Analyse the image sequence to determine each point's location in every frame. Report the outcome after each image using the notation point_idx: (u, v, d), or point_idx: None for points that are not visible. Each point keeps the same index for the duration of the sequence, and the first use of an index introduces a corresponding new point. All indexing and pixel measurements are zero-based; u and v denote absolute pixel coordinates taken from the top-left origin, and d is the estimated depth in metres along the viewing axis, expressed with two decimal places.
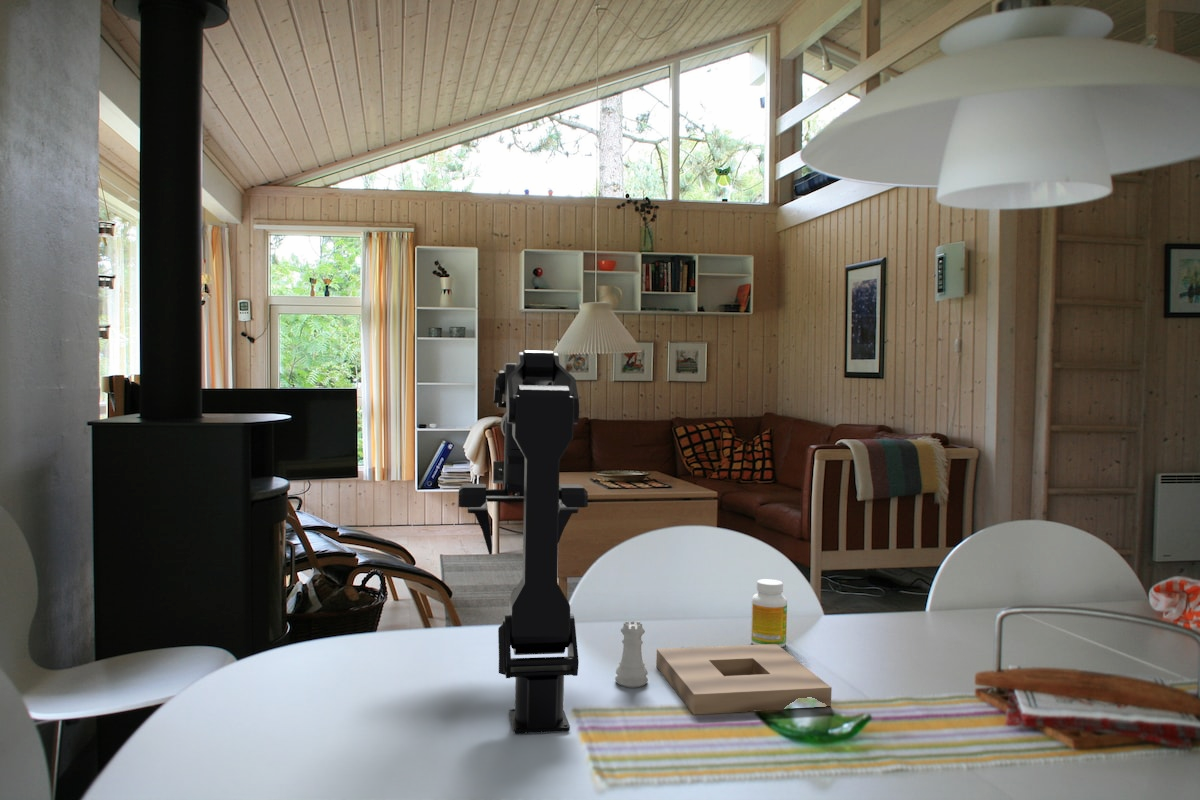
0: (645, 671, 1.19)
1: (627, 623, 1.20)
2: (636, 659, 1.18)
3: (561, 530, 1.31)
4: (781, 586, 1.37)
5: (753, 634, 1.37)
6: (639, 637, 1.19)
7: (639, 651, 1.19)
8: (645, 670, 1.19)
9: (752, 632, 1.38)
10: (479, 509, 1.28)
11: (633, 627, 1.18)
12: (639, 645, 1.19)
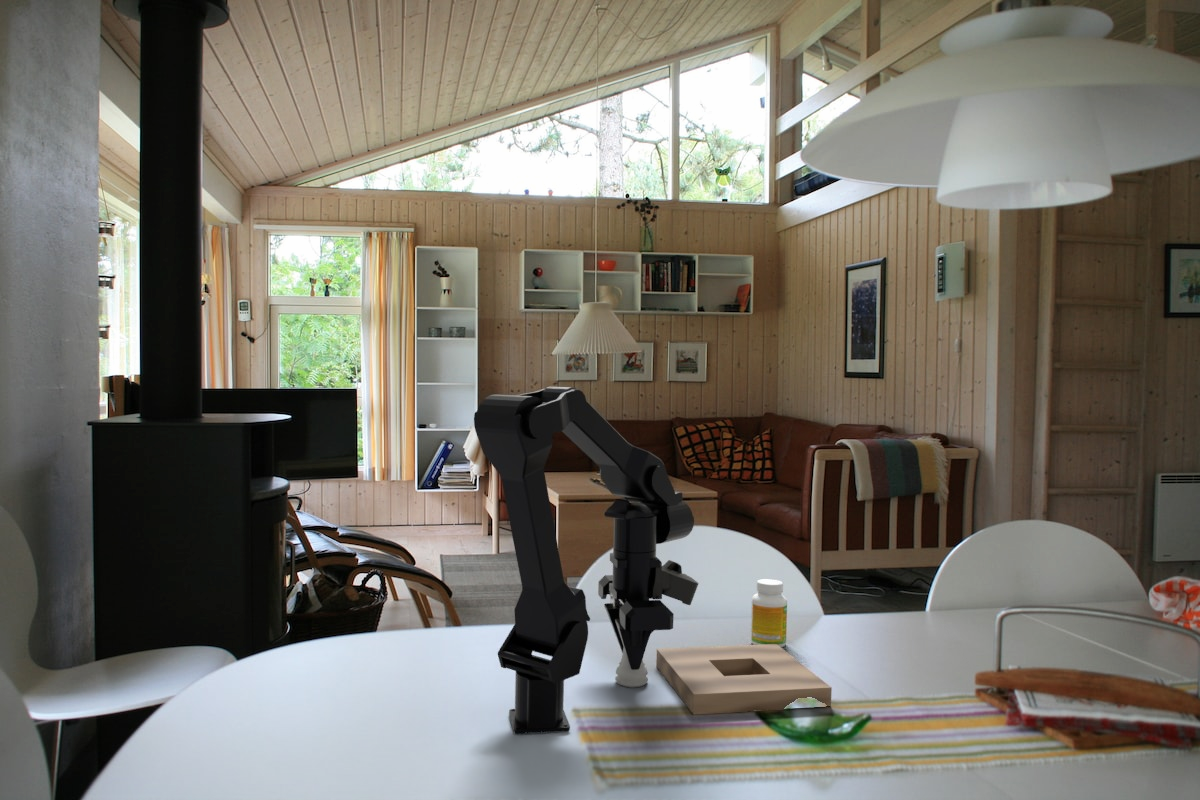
0: (645, 671, 1.19)
1: None
2: None
3: (623, 643, 1.16)
4: (781, 586, 1.37)
5: (753, 634, 1.37)
6: None
7: None
8: (645, 670, 1.19)
9: (752, 632, 1.38)
10: (609, 606, 1.23)
11: None
12: None
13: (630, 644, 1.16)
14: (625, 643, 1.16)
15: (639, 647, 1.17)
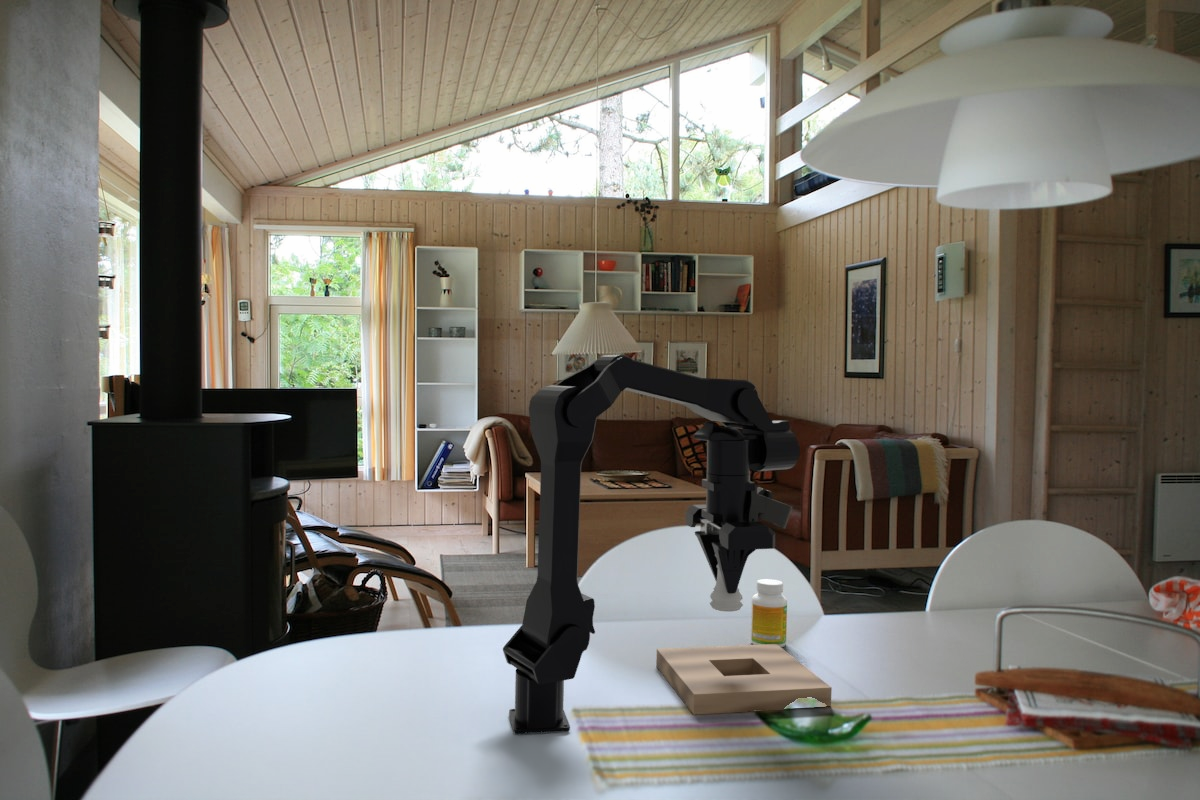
0: (740, 595, 1.19)
1: None
2: None
3: (720, 567, 1.16)
4: (781, 586, 1.37)
5: (753, 634, 1.37)
6: None
7: None
8: (740, 594, 1.19)
9: (752, 632, 1.38)
10: (700, 533, 1.22)
11: None
12: None
13: (727, 567, 1.16)
14: (723, 566, 1.16)
15: (736, 570, 1.16)
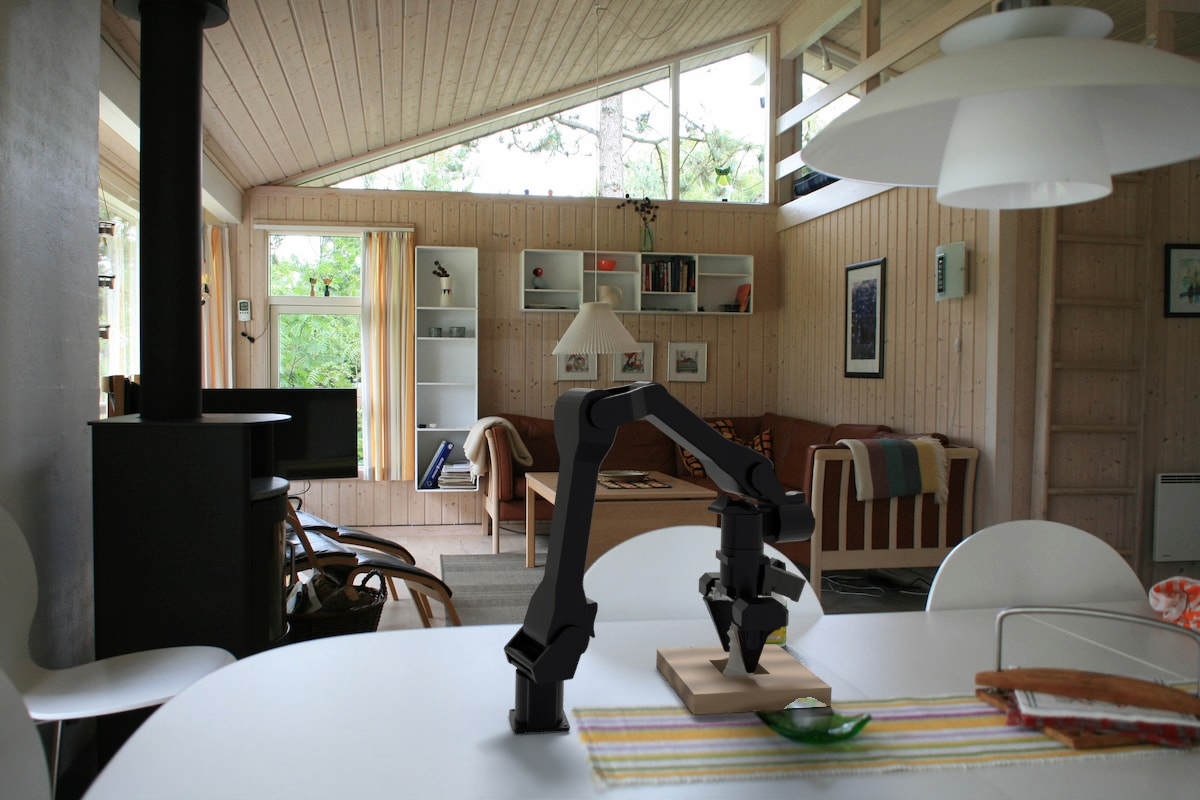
0: (752, 674, 1.19)
1: None
2: None
3: (740, 646, 1.14)
4: None
5: None
6: None
7: None
8: (752, 673, 1.19)
9: None
10: (708, 599, 1.25)
11: None
12: None
13: (747, 647, 1.14)
14: (742, 646, 1.13)
15: (755, 650, 1.14)
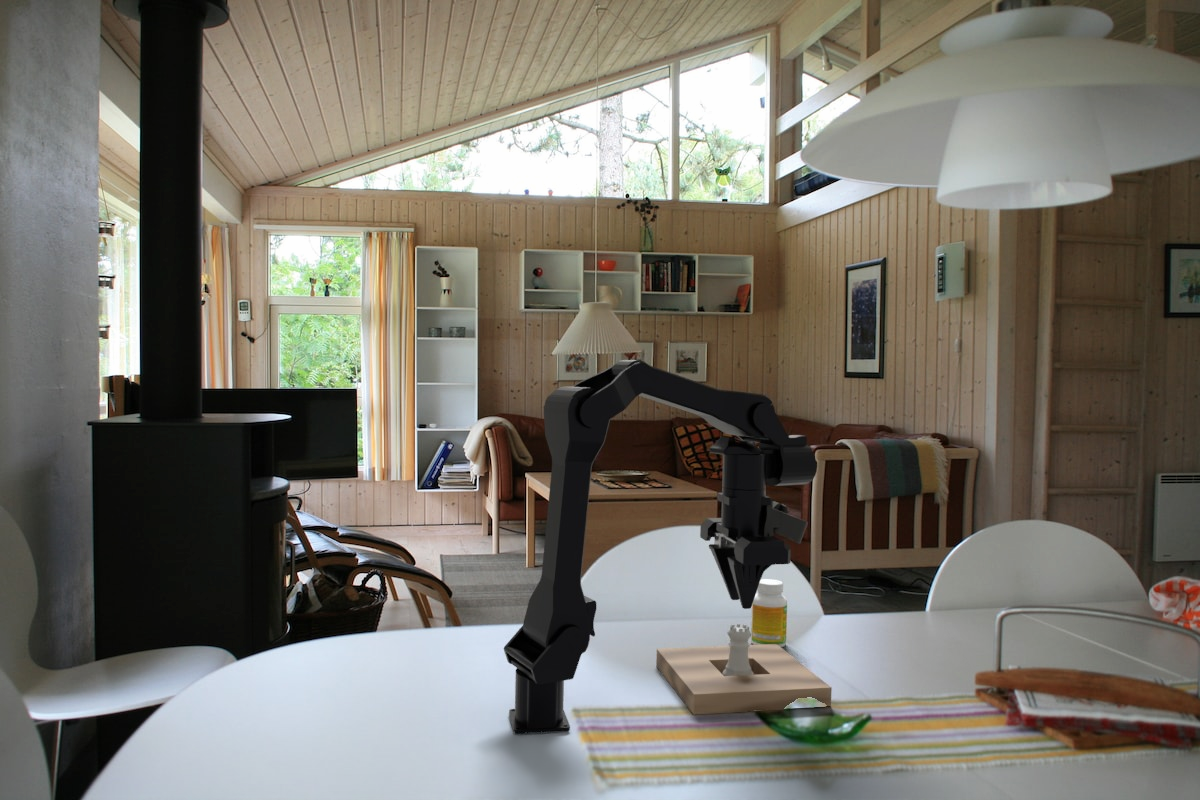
0: (752, 674, 1.19)
1: (733, 626, 1.20)
2: (744, 662, 1.18)
3: (736, 581, 1.15)
4: (781, 586, 1.37)
5: (753, 633, 1.37)
6: (746, 640, 1.18)
7: (746, 654, 1.19)
8: (752, 673, 1.19)
9: (752, 632, 1.38)
10: (714, 546, 1.22)
11: (741, 630, 1.18)
12: (746, 648, 1.18)
13: (743, 582, 1.15)
14: (738, 581, 1.15)
15: (751, 585, 1.16)
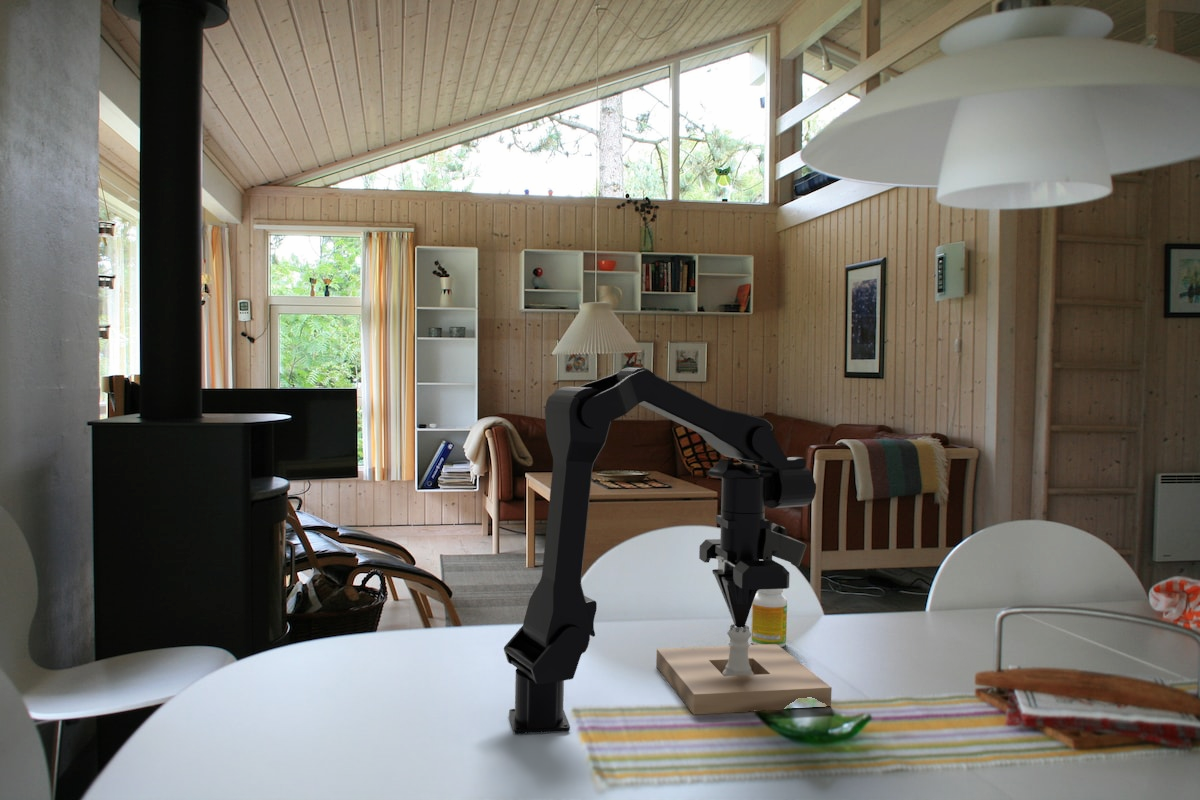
0: (752, 674, 1.19)
1: (733, 626, 1.20)
2: (744, 662, 1.18)
3: (729, 601, 1.18)
4: None
5: (753, 634, 1.37)
6: (746, 640, 1.18)
7: (746, 654, 1.19)
8: (752, 673, 1.19)
9: (752, 632, 1.38)
10: (718, 572, 1.20)
11: (741, 630, 1.18)
12: (746, 648, 1.18)
13: (736, 602, 1.17)
14: (732, 600, 1.17)
15: (745, 604, 1.18)
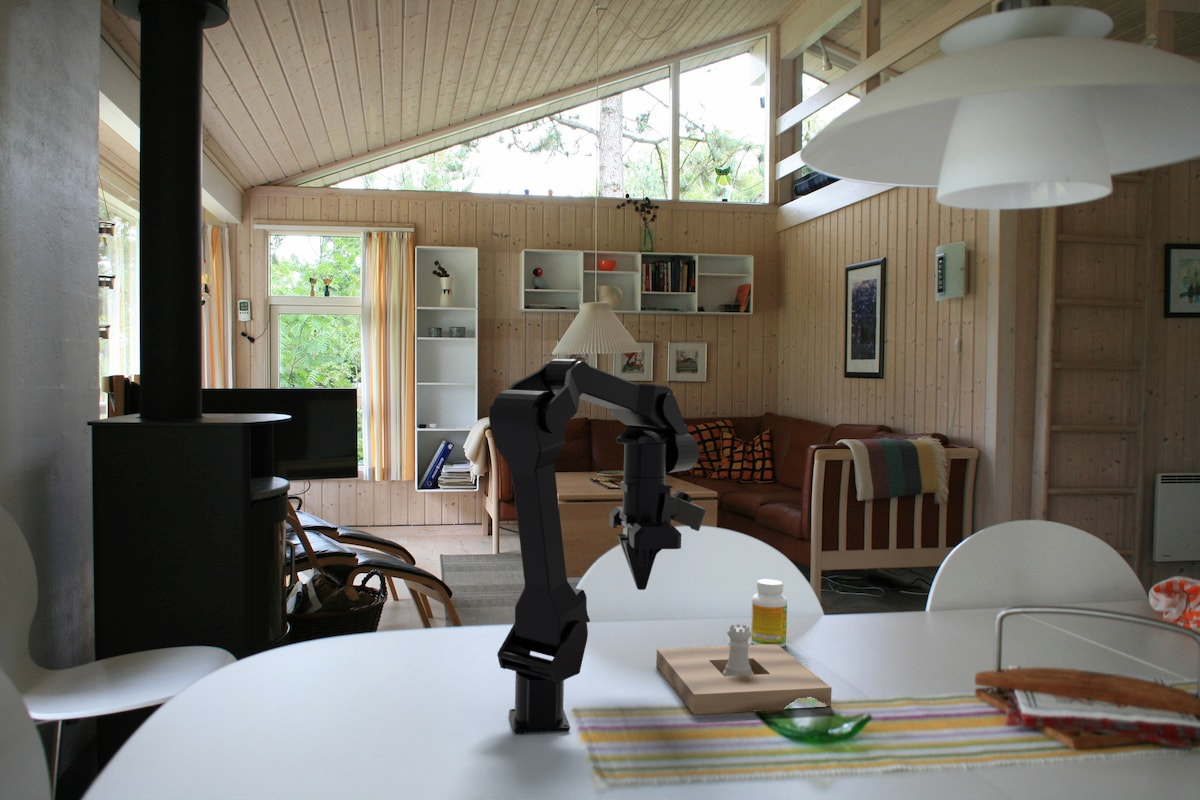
0: (752, 674, 1.19)
1: (733, 626, 1.20)
2: (744, 662, 1.18)
3: (630, 563, 1.21)
4: (781, 586, 1.37)
5: (753, 633, 1.37)
6: (746, 640, 1.18)
7: (746, 654, 1.19)
8: (752, 673, 1.19)
9: (752, 632, 1.38)
10: (622, 536, 1.24)
11: (741, 630, 1.18)
12: (746, 648, 1.18)
13: (637, 564, 1.21)
14: (632, 563, 1.21)
15: (645, 567, 1.21)
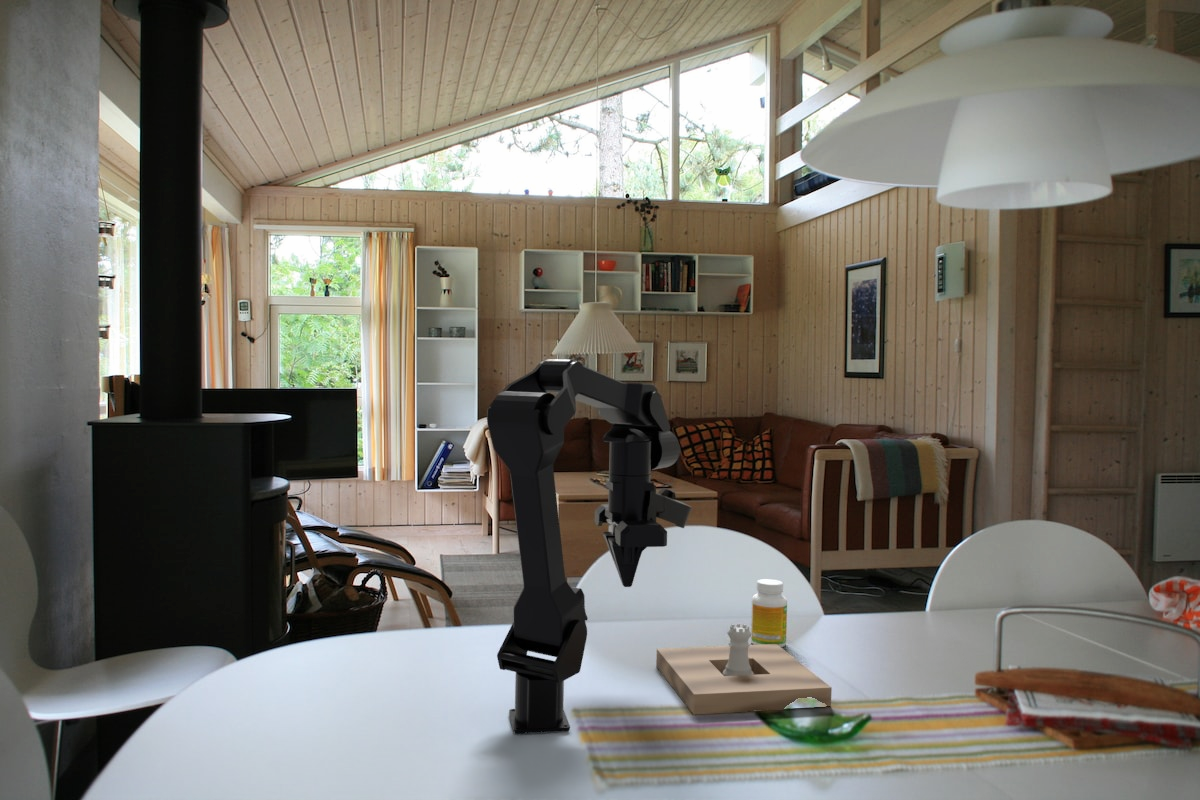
0: (752, 674, 1.19)
1: (733, 626, 1.20)
2: (744, 662, 1.18)
3: (616, 561, 1.22)
4: (781, 586, 1.37)
5: (753, 633, 1.37)
6: (746, 640, 1.18)
7: (746, 654, 1.19)
8: (752, 673, 1.19)
9: (752, 632, 1.38)
10: (607, 534, 1.25)
11: (741, 630, 1.18)
12: (746, 648, 1.18)
13: (622, 561, 1.22)
14: (618, 560, 1.21)
15: (631, 564, 1.22)
